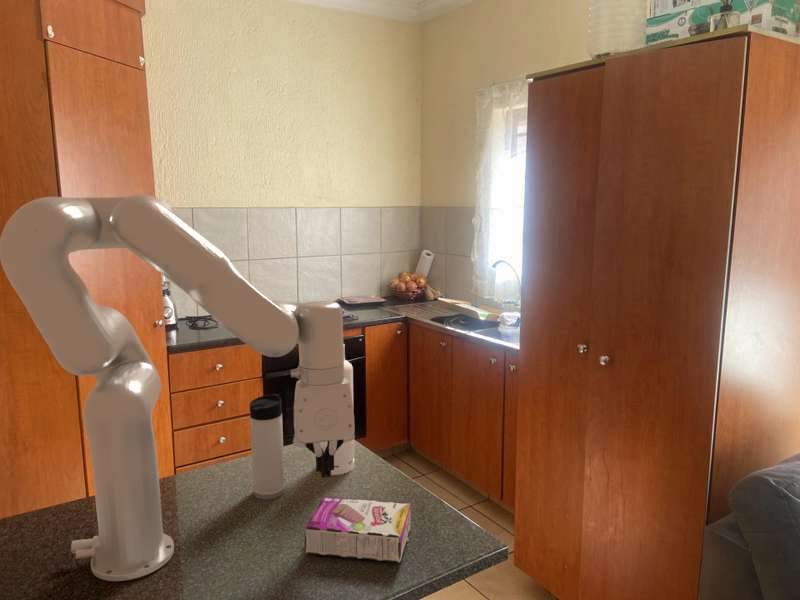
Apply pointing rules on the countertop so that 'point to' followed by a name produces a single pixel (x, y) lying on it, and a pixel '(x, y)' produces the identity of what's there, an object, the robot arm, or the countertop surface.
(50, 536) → the countertop surface
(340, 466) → the bottle
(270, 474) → the travel mug
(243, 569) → the countertop surface
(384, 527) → the candy bar box
